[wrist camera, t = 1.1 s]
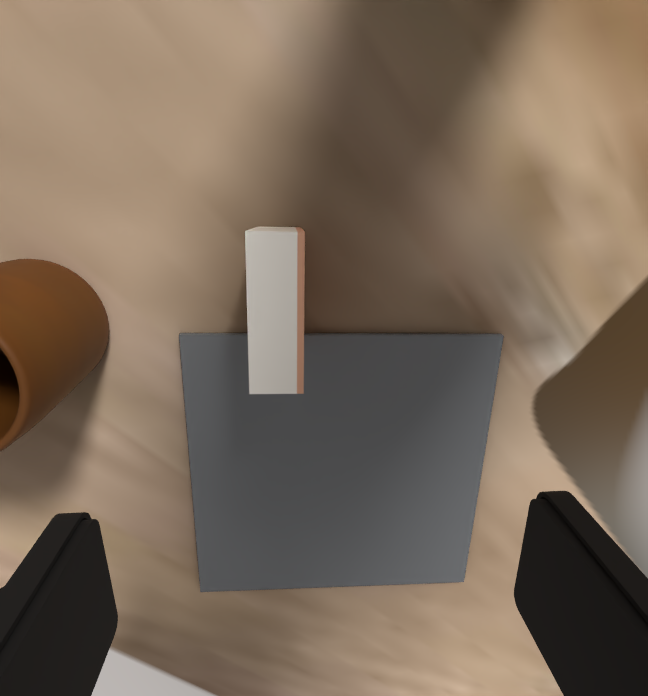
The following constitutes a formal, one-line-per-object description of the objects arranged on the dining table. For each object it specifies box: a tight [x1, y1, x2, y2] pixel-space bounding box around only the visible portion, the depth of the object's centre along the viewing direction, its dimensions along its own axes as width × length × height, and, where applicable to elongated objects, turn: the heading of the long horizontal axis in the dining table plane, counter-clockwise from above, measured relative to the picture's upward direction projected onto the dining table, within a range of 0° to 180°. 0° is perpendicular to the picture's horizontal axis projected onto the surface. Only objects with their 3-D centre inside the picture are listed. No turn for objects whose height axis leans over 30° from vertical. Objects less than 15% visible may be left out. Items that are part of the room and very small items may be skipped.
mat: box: [179, 333, 504, 592], centre depth 32 cm, size 20×20×1 cm
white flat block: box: [245, 226, 305, 394], centre depth 23 cm, size 7×2×8 cm, turn 179°
